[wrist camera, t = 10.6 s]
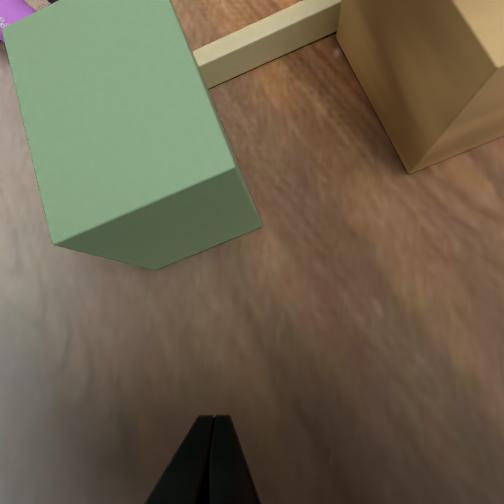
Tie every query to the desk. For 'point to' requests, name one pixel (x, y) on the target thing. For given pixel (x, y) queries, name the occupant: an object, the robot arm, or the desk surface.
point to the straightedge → (267, 39)
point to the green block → (125, 133)
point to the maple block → (429, 72)
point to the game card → (14, 12)
